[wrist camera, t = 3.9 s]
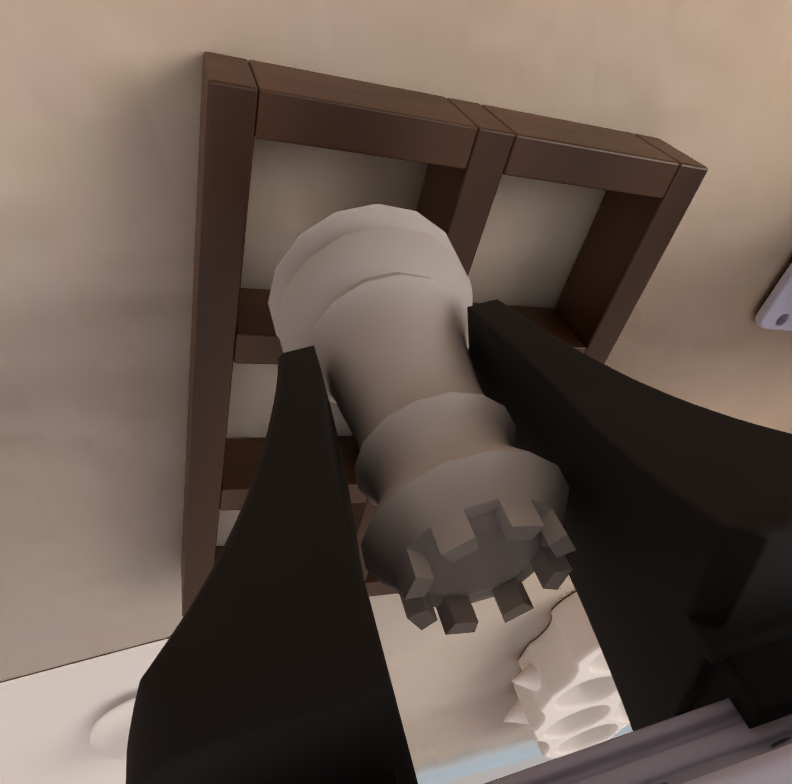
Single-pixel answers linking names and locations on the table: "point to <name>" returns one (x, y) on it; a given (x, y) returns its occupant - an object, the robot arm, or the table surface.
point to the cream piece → (72, 720)
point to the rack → (439, 203)
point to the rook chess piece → (421, 417)
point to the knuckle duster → (567, 686)
